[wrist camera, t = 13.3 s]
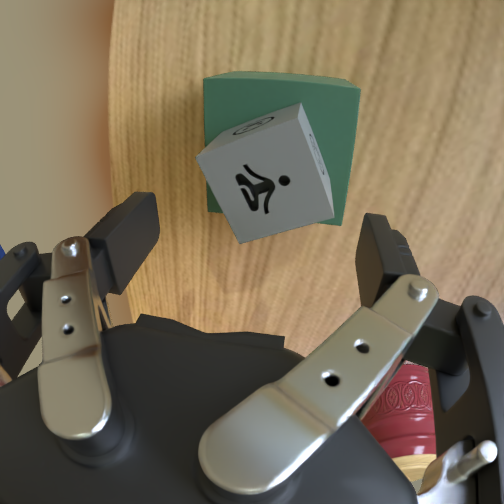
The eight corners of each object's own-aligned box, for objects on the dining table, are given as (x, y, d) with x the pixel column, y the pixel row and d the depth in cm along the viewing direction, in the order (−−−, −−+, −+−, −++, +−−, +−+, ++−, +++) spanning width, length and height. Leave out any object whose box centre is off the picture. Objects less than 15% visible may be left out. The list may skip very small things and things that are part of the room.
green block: (233, 171, 28) (207, 212, 22) (233, 71, 23) (202, 78, 17) (334, 180, 27) (341, 226, 21) (346, 79, 22) (361, 88, 15)
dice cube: (222, 131, 18) (195, 157, 14) (300, 102, 17) (297, 117, 13) (255, 201, 21) (239, 244, 17) (329, 178, 19) (334, 217, 15)
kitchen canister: (444, 385, 41) (458, 484, 27) (377, 413, 48) (377, 505, 34) (417, 349, 37) (434, 472, 23) (338, 383, 44) (333, 495, 30)
